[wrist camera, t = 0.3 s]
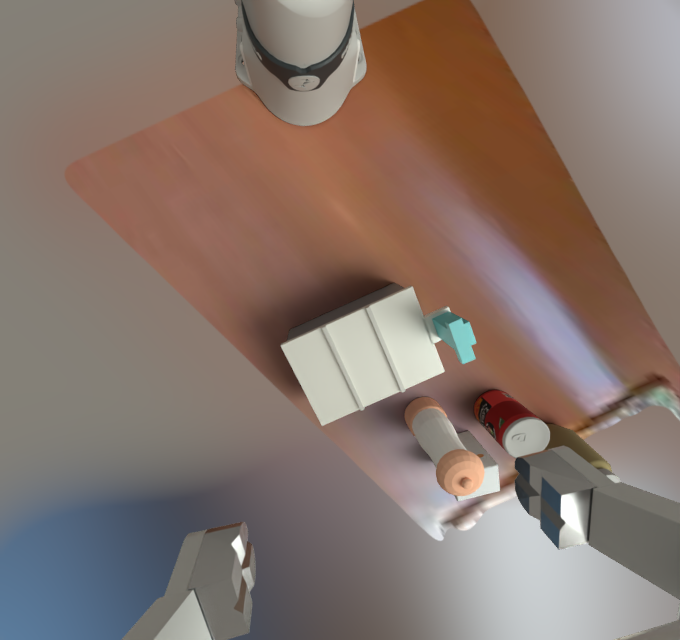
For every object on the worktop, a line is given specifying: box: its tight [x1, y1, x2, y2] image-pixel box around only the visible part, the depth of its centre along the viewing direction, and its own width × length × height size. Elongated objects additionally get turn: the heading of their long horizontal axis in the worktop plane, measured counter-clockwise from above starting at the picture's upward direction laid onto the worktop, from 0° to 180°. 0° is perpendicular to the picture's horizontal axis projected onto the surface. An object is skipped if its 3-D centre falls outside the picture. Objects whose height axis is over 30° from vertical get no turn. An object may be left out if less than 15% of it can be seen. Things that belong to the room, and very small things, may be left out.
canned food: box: [474, 390, 550, 458], centre depth 59 cm, size 8×8×11 cm
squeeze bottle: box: [543, 424, 620, 483], centre depth 58 cm, size 8×8×18 cm
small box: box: [454, 431, 500, 501], centre depth 61 cm, size 8×6×10 cm
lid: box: [281, 286, 476, 426], centre depth 46 cm, size 15×25×9 cm, turn 114°
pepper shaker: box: [404, 397, 485, 496], centre depth 54 cm, size 7×7×19 cm
